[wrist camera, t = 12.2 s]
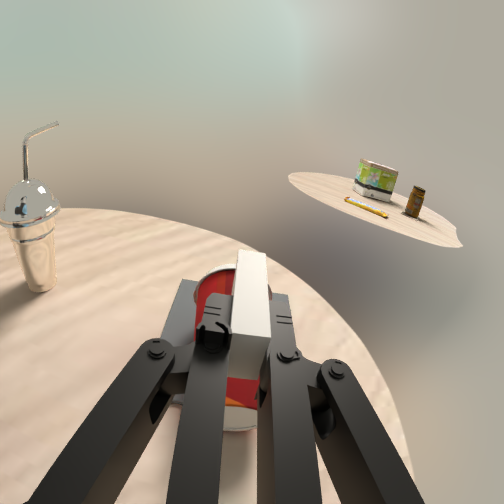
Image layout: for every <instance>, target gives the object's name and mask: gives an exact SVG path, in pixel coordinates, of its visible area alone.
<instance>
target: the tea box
mask: <svg viewBox="0 0 504 504" xmlns="http://www.w3.org/2000/svg"><path fill="white" fill-rule="evenodd" d="M397 176H398V171H396V170H394V169H392V168H390V167H387V166H384V165H381V164H378V163H375V162H372V161H369V160H365V159H361V161H360V164H359V167H358V171H357V174H356V178H355V182H354V185H353V188H352V189H353V190H354V191H356V192H357V193H358V194H360V195H361V196H367V197H371V198H375V199H378V200H382V201H385V202H389V201H390V198H391V195H392V192H393V189H394V185H395V182H396V179H397Z"/></svg>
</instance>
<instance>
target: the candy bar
mask: <svg viewBox="0 0 504 504" xmlns="http://www.w3.org/2000/svg"><path fill="white" fill-rule="evenodd" d="M347 198H348V199H347ZM344 200H345V201H346V202H348V203H350V204H353V205H355V206H358V207H360V208H363V209H365V210H367V211H370V212H372V213H374V214H377V215H379V216H387V215H386V214H385V213H384V212H382V211H381V210H379V209H376V208H374V207H372V206H369V205H367V204H364V203H362V202H359V201H356V200H354V199H350V197H346V199H344Z"/></svg>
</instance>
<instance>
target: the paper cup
mask: <svg viewBox="0 0 504 504" xmlns="http://www.w3.org/2000/svg"><path fill="white" fill-rule="evenodd" d="M235 270H236V264H225V265H221V266H218V267H216V268H214V269H212V270H210V271H209V272H208V273H207V274H206V276H204V277H203V278H202V279H201V280H200V281H199V283H198V284H197V286H196V289H195V291H194V293H193V298H194V302H195V304H196V317H195V329H194V341H195V337H196V327H197V326H198V324H199V323H201V322H202V317H203V313H204V308H205V304H206V300H207V298H208V297H209V296H210V295H211V294H212V293H219V294H225V295H232V288H233V282H234V276H235ZM268 297H269V300H272V291H271V288H270V286H269V284H268ZM259 383H260V376H259V377H258V380H250V379H241V378H233V377H227V387H226V400H225V412H224V425H223V431H246V430H251V429H256V428H257V400H254V398H255V394H256V391H257V389H258V386H259Z"/></svg>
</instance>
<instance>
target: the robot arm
mask: <svg viewBox="0 0 504 504" xmlns="http://www.w3.org/2000/svg"><path fill="white" fill-rule="evenodd" d="M292 324H293V322H292V316H291V310H290V308H289V307H288V305H287V304H286V303H285V302H280V301H272V300H269V297H268V282H267V268H266V254H265V253H259V252H252V251H246V250H240V249H239V252H238V258H237V264H236V270H235V276H234V282H233V288H232V295H225V294H219V293H212V294H211V295H210V296H209V297H208V298H207V300H206V304H205V308H204V313H203V317H202V322H201V323H199V324H198V326H197V327H196V337H195V341H194V342H192V343H191V344H188V345H185V346H176V347H173V346H172V344H171V343H170V342H168V341H166V340H164V339H160V338H155V339H150V340H147V341H145V342H144V343H143V344H142V345H141V346H140V348H139V349H138V350H137V351H136V353H135V354H134V355H133V357H132V358H131V359H130V360H129V362H128V363H127V364H126V366H125V367H124V368H123V369H122V371H121V372H120V373H119V375H118V376H117V377H116V379H115V380H114V381H113V383H112V384H111V385H110V387H109V388H108V389H107V391H106V392H105V393H104V395H103V396H102V397H101V399H100V400H99V401H98V403H97V404H96V405H95V407H94V408H93V409H92V411H91V412H90V413H89V415H88V416H87V417H86V419H85V420H84V422H83V423H82V424H81V426H80V427H79V428H78V430H77V431H76V433H75V434H74V435H73V437H72V438H71V439H70V441H69V442H68V444H67V445H66V446H65V448H64V449H63V451H62V452H61V454H60V455H59V456H58V458H57V459H56V461H55V462H54V464H53V465H52V466H51V468H50V469H49V471H48V472H47V474H46V475H45V477H44V478H43V480H42V481H41V483H40V484H39V486H38V487H37V488H36V490H35V491H34V493H33V495H32V496H31V498H30V499H29V501H27V502H25V503H23V504H114V503H115V501H116V499H117V497H118V496H119V494H120V492H121V490H122V489H123V487H124V485H125V483H126V482H127V480H128V478H129V476H130V474H131V473H132V471H133V469H134V467H135V466H136V464H137V462H138V460H139V459H140V457H141V455H142V453H143V451H144V450H145V448H146V446H147V444H148V443H149V441H150V439H151V437H152V436H153V434H154V432H155V430H156V428H157V427H158V425H159V423H160V421H161V420H162V418H163V416H164V414H165V412H166V411H167V409H168V407H169V405H170V404H171V402H172V400H173V398H174V396H175V394H185V395H184V400H183V405H182V410H181V416H180V421H179V426H178V432H177V438H176V443H175V449H174V455H173V461H172V467H171V473H170V479H169V486H168V492H167V499H166V504H218V496H219V481H220V466H221V452H222V438H223V425H224V412H225V400H226V387H227V377H233V378H241V379H250V380H258V377H259V376H260V383H259V386H258V389H257V391H256V394H255V398H254V400H257V504H322V496H321V486H320V477H319V469H318V460H317V452H316V444H317V447H318V449H319V452H320V454H321V456H322V459H323V461H324V464H325V466H326V468H327V471H328V473H329V475H330V478H331V480H332V483H333V485H334V487H335V490H336V492H337V494H338V497H339V499H340V501H341V504H425V503H424V501H423V499H422V497H421V495H420V493H419V492H418V490H417V487H416V486H415V484H414V482H413V480H412V478H411V476H410V474H409V472H408V470H407V469H406V467H405V465H404V463H403V461H402V459H401V457H400V456H399V454H398V452H397V450H396V448H395V446H394V445H393V443H392V441H391V439H390V437H389V436H388V434H387V432H386V430H385V428H384V427H383V425H382V423H381V421H380V419H379V418H378V416H377V414H376V412H375V411H374V409H373V407H372V405H371V403H370V402H369V400H368V398H367V396H366V395H365V393H364V391H363V389H362V388H361V386H360V384H359V383H358V381H357V379H356V377H355V376H354V374H353V372H352V370H351V369H350V368H349V366H348V365H347V364H346V363H344V362H343V361H340V360H337V359H329V360H326V361H325V362H324V363H323V364H319V363H316V362H313V361H310V360H308V359H306V358H304V357H303V356H302V353H301V351H300V350H299V349H298V348H297V347H296V342H295V335H294V328H293V325H292ZM315 442H316V444H315Z"/></svg>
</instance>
